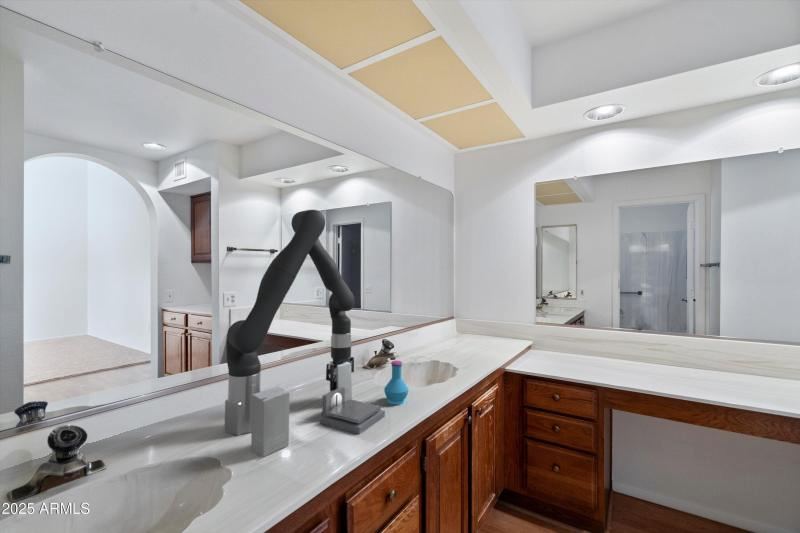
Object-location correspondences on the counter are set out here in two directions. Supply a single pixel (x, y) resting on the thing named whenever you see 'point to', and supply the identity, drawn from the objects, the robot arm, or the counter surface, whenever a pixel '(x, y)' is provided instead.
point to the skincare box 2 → (344, 378)
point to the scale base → (332, 401)
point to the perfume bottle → (396, 385)
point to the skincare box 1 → (270, 421)
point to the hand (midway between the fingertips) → (340, 388)
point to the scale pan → (353, 411)
